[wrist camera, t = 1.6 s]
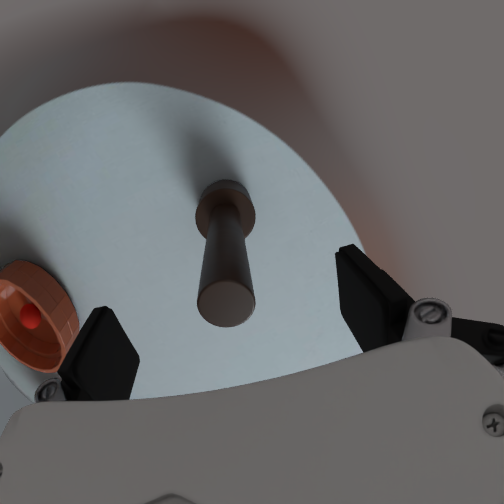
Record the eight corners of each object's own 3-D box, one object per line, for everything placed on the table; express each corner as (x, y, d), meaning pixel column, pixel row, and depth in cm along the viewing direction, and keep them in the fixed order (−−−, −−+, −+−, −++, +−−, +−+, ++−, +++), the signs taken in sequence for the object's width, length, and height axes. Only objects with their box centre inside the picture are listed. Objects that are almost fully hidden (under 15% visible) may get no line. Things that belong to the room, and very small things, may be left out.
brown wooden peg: (193, 187, 23) (150, 268, 10) (244, 173, 23) (272, 237, 9) (207, 234, 25) (191, 356, 11) (256, 221, 25) (292, 334, 11)
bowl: (-11, 271, 24) (-32, 290, 19) (47, 245, 24) (22, 266, 19) (35, 350, 29) (21, 373, 25) (99, 342, 29) (86, 371, 25)
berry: (23, 301, 25) (11, 314, 23) (37, 297, 25) (25, 311, 23) (35, 320, 27) (24, 334, 24) (49, 317, 27) (38, 332, 24)
